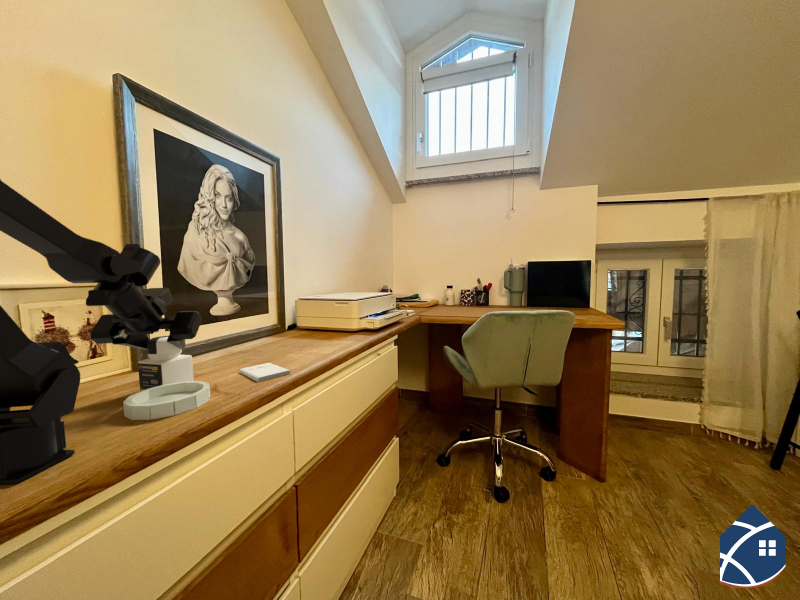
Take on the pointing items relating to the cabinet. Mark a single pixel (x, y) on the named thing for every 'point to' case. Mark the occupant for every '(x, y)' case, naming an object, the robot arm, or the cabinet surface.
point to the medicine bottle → (164, 365)
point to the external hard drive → (264, 372)
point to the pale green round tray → (166, 400)
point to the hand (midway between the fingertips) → (168, 348)
